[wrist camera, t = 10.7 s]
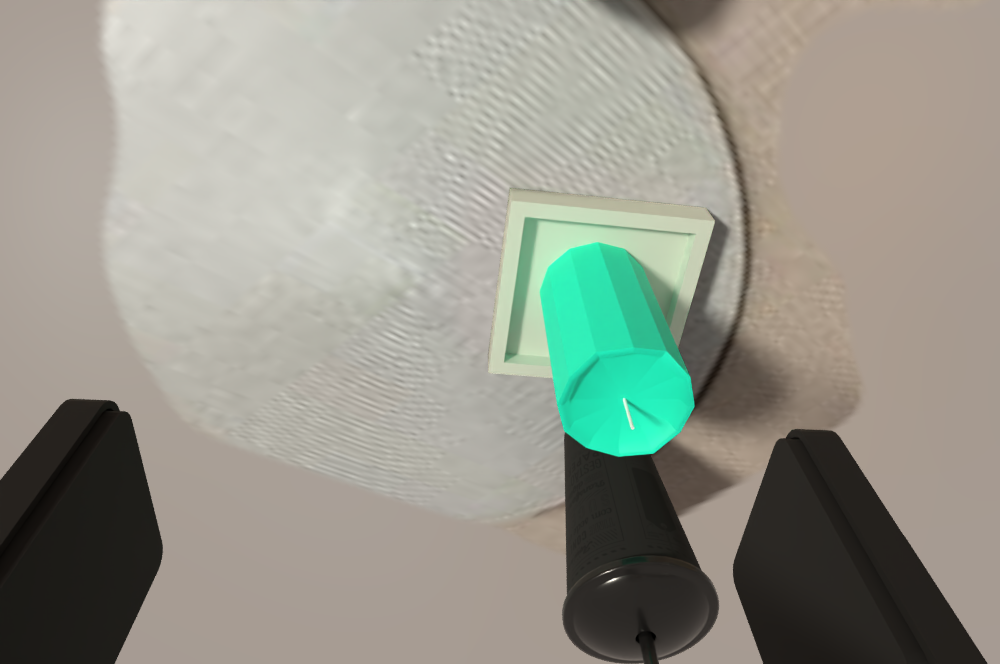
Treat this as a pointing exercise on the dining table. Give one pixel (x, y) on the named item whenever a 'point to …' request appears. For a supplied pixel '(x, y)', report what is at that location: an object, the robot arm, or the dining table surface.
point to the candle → (612, 353)
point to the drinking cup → (629, 562)
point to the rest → (576, 222)
